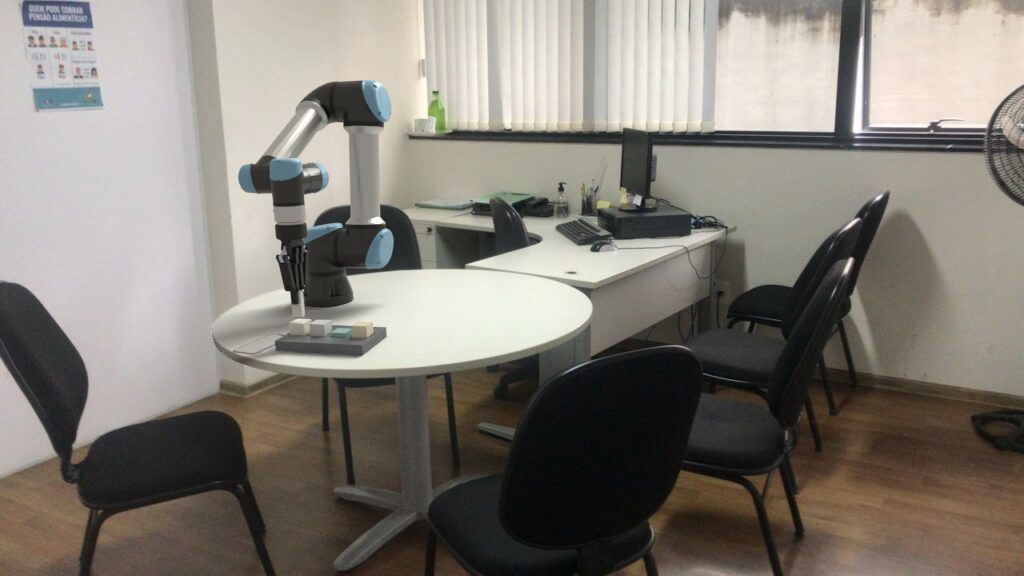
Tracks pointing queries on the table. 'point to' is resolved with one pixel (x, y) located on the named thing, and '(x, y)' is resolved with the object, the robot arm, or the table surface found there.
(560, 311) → the table surface
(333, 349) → the keypad
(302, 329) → the key
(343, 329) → the key
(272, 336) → the smartphone
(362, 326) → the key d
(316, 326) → the key
